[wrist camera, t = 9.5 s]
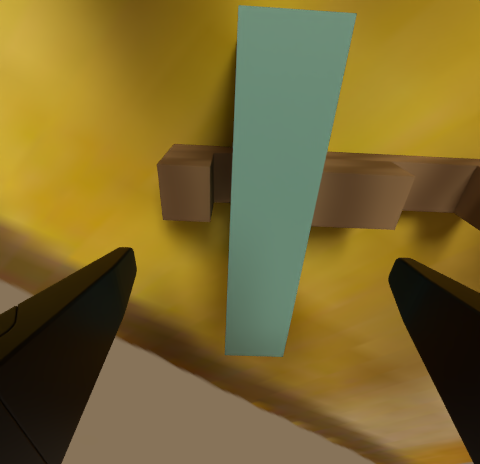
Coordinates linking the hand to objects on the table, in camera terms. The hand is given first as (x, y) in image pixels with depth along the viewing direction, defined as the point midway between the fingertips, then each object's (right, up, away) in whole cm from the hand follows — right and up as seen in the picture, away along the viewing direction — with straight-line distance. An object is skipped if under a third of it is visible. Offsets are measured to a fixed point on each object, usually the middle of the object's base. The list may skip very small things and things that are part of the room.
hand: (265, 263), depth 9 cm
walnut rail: (+5, +5, +8) cm, 11 cm away
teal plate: (0, +5, +8) cm, 9 cm away
